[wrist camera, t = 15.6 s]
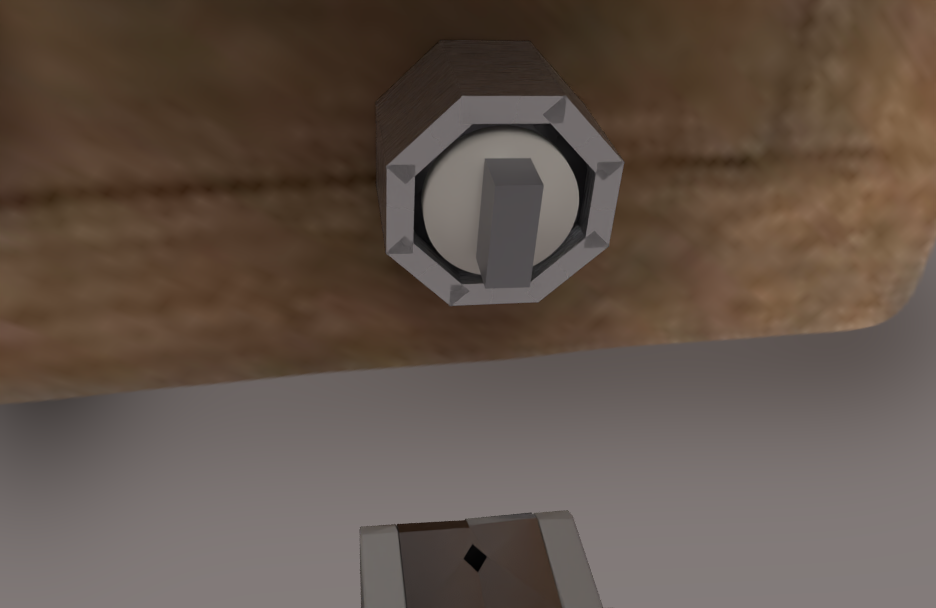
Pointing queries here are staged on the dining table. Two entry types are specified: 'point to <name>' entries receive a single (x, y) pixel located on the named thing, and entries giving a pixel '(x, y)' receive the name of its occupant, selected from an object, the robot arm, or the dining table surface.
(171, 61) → the dining table surface
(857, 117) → the dining table surface
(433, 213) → the cap
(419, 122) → the grey octagonal pot
